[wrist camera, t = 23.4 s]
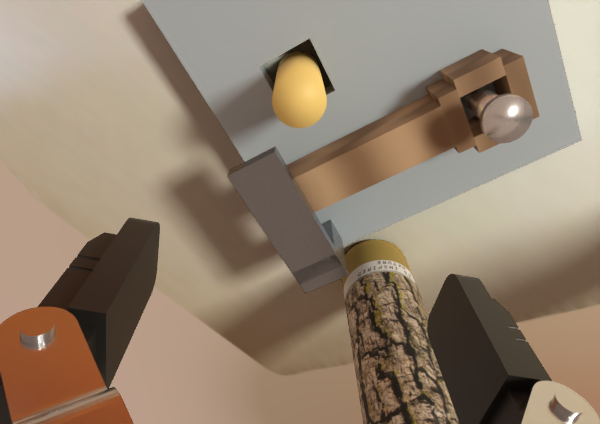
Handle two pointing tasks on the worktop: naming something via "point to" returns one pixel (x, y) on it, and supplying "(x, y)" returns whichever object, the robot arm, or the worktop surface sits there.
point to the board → (369, 83)
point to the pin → (299, 91)
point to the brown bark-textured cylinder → (392, 340)
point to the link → (412, 130)
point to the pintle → (499, 114)
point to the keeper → (290, 220)
